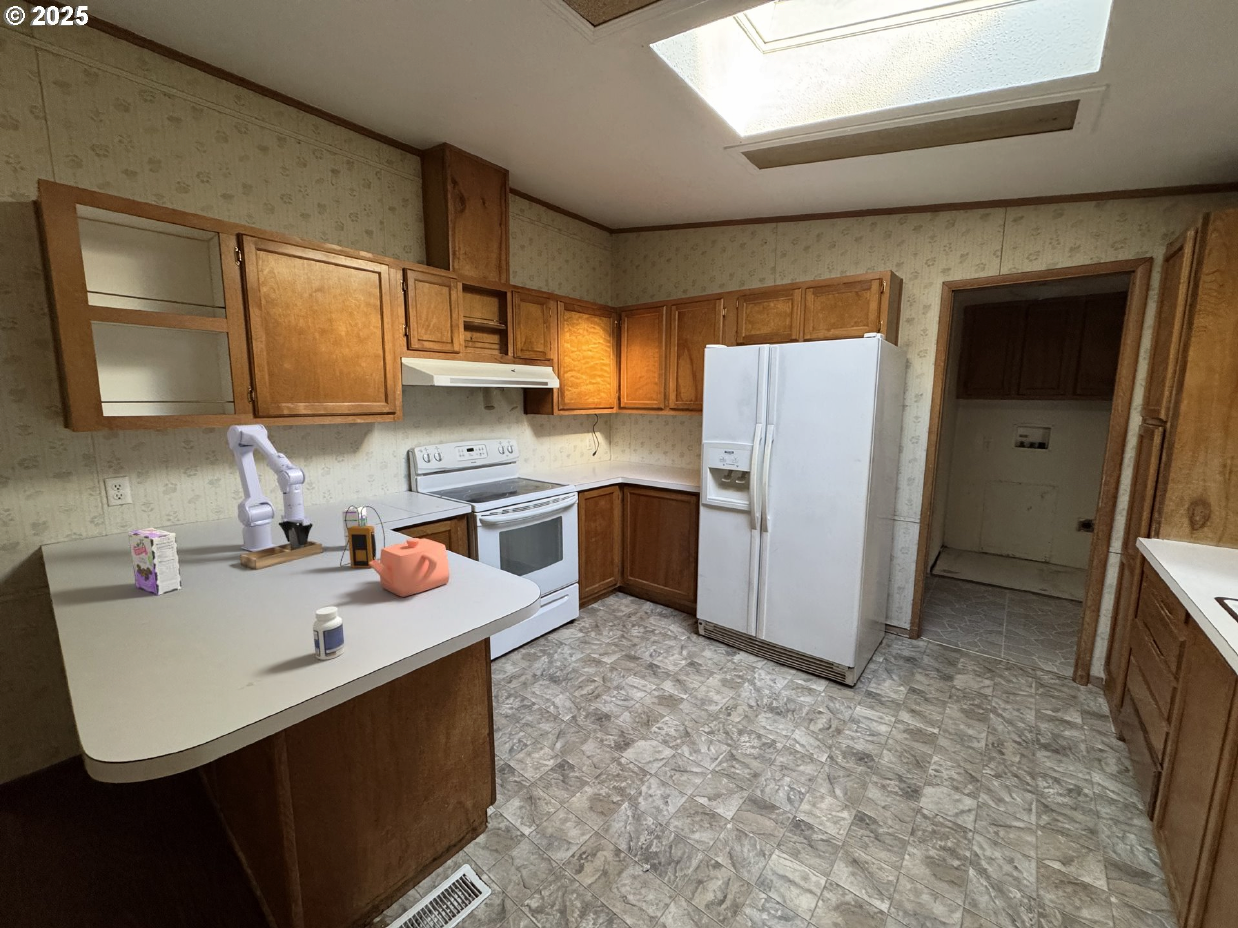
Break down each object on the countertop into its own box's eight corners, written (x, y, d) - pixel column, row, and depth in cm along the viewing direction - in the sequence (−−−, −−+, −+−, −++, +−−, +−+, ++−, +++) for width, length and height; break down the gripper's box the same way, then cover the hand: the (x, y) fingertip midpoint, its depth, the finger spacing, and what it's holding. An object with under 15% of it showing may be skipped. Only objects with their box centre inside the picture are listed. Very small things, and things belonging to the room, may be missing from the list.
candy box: (134, 587, 147) (126, 531, 145) (160, 580, 153) (153, 526, 150) (157, 595, 141) (149, 537, 139) (183, 588, 146) (176, 532, 144)
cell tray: (240, 564, 167) (239, 554, 166) (306, 548, 184) (305, 539, 184) (256, 569, 161) (255, 560, 161) (322, 552, 179) (321, 543, 178)
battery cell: (288, 553, 176) (285, 528, 175) (301, 549, 179) (298, 525, 178) (294, 554, 174) (292, 529, 173) (307, 551, 177) (304, 526, 176)
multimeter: (399, 558, 171) (395, 500, 169) (383, 568, 162) (378, 506, 159) (357, 557, 173) (353, 499, 170) (339, 567, 163) (334, 505, 160)
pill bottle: (349, 647, 111) (346, 604, 110) (336, 660, 106) (333, 615, 105) (324, 648, 111) (320, 605, 110) (310, 660, 106) (306, 615, 105)
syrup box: (361, 549, 182) (358, 509, 180) (344, 549, 182) (341, 509, 180) (369, 545, 187) (366, 506, 185) (353, 545, 187) (350, 506, 185)
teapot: (419, 571, 160) (417, 527, 158) (461, 587, 146) (458, 540, 144) (353, 590, 144) (350, 542, 142) (392, 610, 130) (389, 557, 129)
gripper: (270, 504, 175) (273, 542, 177) (292, 508, 167) (296, 549, 169) (292, 500, 181) (295, 537, 183) (314, 504, 173) (317, 543, 175)
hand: (297, 543), depth 176 cm, fingers open, 7 cm apart
